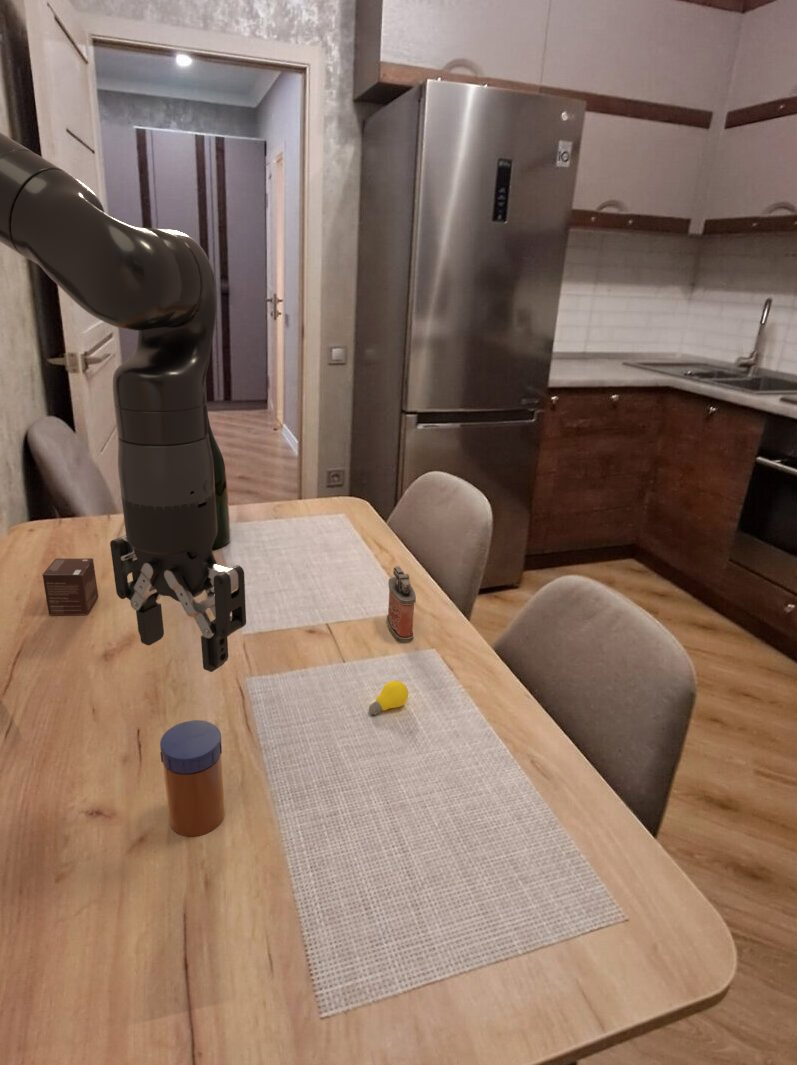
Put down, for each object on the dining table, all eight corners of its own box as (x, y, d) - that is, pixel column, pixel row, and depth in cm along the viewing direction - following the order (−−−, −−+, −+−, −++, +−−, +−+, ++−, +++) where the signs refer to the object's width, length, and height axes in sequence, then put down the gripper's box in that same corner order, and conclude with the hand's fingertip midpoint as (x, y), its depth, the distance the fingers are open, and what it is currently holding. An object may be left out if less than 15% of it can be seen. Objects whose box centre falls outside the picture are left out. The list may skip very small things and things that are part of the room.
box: (61, 597, 111) (55, 557, 108) (99, 597, 112) (94, 557, 109) (48, 616, 105) (40, 574, 103) (87, 615, 106) (81, 574, 103)
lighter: (417, 641, 104) (421, 584, 100) (396, 644, 103) (399, 586, 99) (402, 616, 111) (405, 562, 107) (382, 618, 110) (385, 563, 106)
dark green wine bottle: (168, 539, 135) (153, 374, 123) (215, 528, 142) (205, 370, 129) (192, 556, 128) (179, 383, 116) (240, 544, 135) (233, 379, 122)
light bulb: (412, 702, 89) (413, 688, 87) (377, 728, 87) (377, 714, 84) (396, 684, 91) (397, 670, 89) (362, 709, 89) (361, 696, 86)
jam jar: (168, 841, 67) (160, 766, 63) (170, 800, 72) (162, 728, 68) (226, 831, 68) (221, 757, 65) (223, 791, 73) (219, 721, 70)
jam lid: (160, 778, 64) (158, 763, 63) (162, 738, 69) (161, 724, 68) (222, 768, 65) (221, 753, 64) (220, 730, 70) (219, 716, 69)
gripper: (73, 482, 56) (97, 649, 62) (199, 519, 50) (212, 700, 56) (143, 462, 62) (159, 616, 69) (264, 492, 56) (269, 658, 62)
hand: (183, 653), depth 62 cm, fingers open, 7 cm apart
